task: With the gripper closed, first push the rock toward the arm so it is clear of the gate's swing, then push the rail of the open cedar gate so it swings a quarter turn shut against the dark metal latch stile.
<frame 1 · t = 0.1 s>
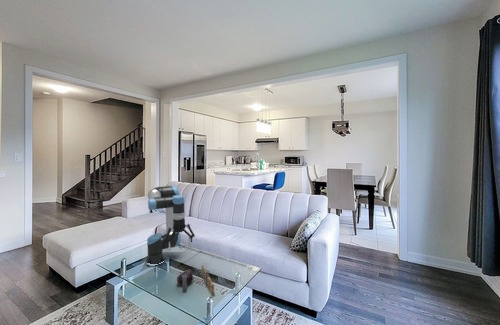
hand: (179, 249, 154), 28 cm above the table, fingers open, 13 cm apart
rock: (186, 283, 162), on the table
gate: (204, 274, 166), point 4 cm above the table, hinge at 0.0°
posts: (207, 284, 159), on the table
fence: (210, 290, 153), on the table
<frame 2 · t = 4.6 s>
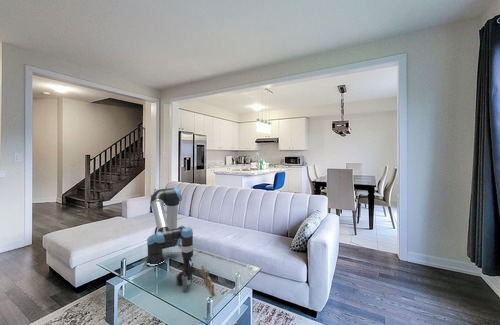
hand: (188, 283, 157), 2 cm above the table, fingers closed
rock: (185, 282, 163), on the table, touching gripper
everything else where it was.
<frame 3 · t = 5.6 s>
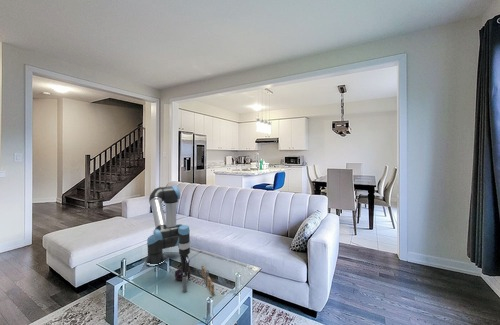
hand: (185, 280, 162), 2 cm above the table, fingers closed
rock: (183, 278, 168), on the table, touching gripper
everything else where it was.
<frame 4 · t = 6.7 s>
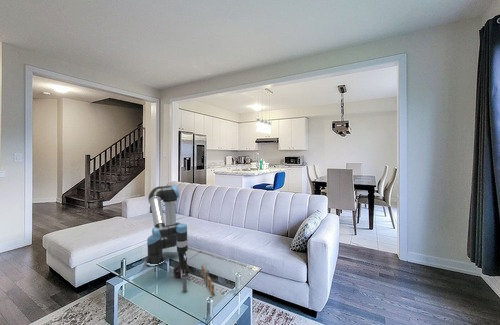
hand: (183, 277, 165), 2 cm above the table, fingers closed
rock: (182, 275, 172), on the table, touching gripper
everything else where it was.
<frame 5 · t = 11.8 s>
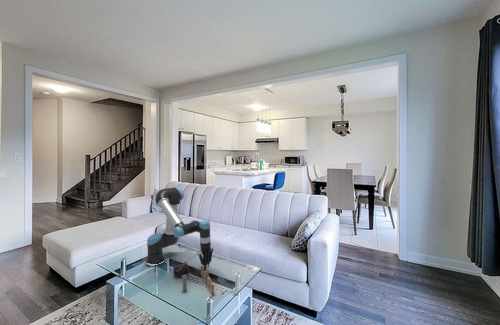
hand: (206, 272, 169), 4 cm above the table, fingers closed
rock: (182, 275, 172), on the table
gate: (204, 274, 166), point 4 cm above the table, hinge at 2.7°, touching gripper
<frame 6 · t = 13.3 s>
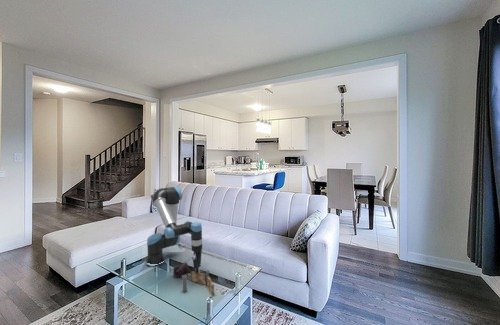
hand: (197, 275, 164), 4 cm above the table, fingers closed
gate: (198, 277, 162), point 4 cm above the table, hinge at 41.1°, touching gripper
everything else where it was.
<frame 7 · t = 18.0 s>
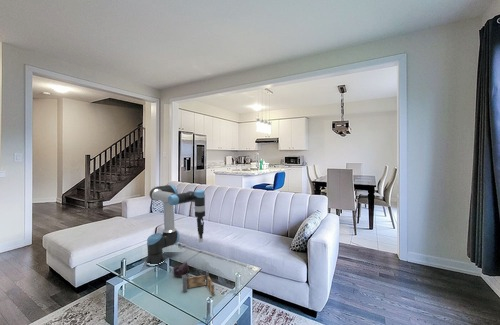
hand: (200, 242, 169), 26 cm above the table, fingers closed
gate: (196, 281, 157), point 4 cm above the table, hinge at 79.7°
everything else where it was.
at the end: gate at +80° (first picture: +0°); rock moved 12.7 cm from its start; gate touching nothing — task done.
